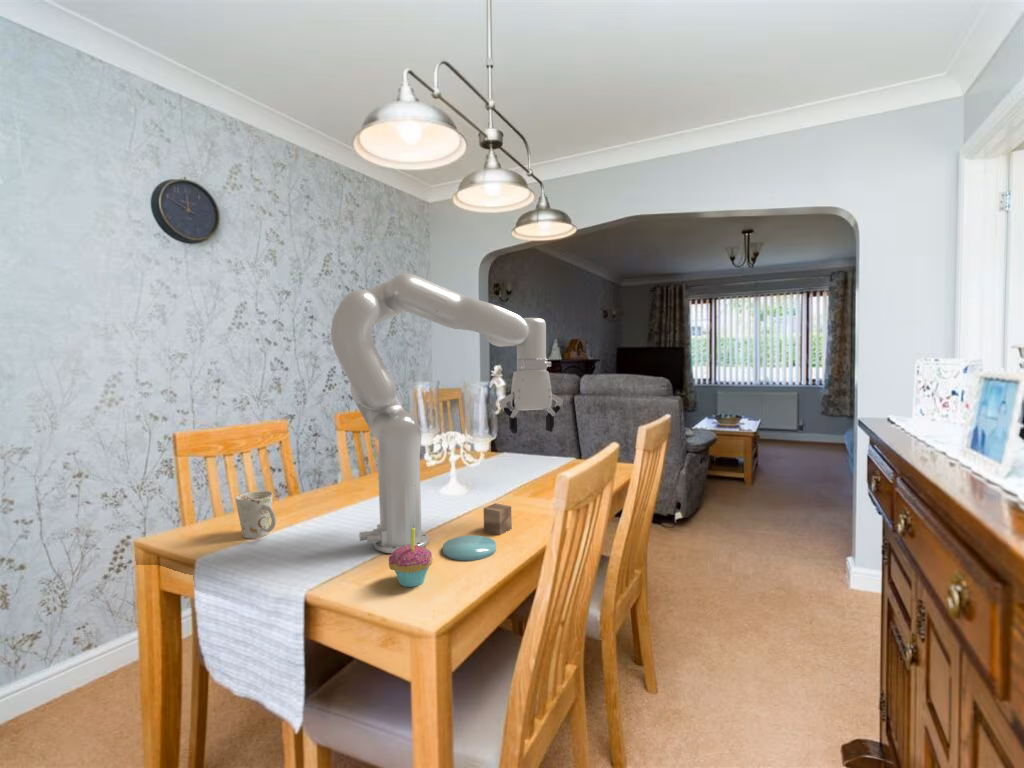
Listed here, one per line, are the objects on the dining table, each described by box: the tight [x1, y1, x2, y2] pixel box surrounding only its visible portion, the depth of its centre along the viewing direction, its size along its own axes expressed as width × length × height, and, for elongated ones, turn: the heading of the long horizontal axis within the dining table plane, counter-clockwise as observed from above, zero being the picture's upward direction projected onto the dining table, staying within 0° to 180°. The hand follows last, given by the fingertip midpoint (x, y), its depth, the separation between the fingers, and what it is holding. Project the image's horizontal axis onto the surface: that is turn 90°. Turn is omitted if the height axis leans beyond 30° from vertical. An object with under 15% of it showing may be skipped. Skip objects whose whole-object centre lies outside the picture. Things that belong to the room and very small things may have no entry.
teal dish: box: [442, 535, 497, 562], centre depth 116 cm, size 12×12×1 cm
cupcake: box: [388, 525, 433, 588], centre depth 100 cm, size 9×8×12 cm
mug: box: [235, 490, 277, 539], centre depth 128 cm, size 8×13×10 cm, turn 60°
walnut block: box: [483, 503, 513, 536], centre depth 129 cm, size 5×5×6 cm
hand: (531, 431), depth 133 cm, fingers open, 9 cm apart
